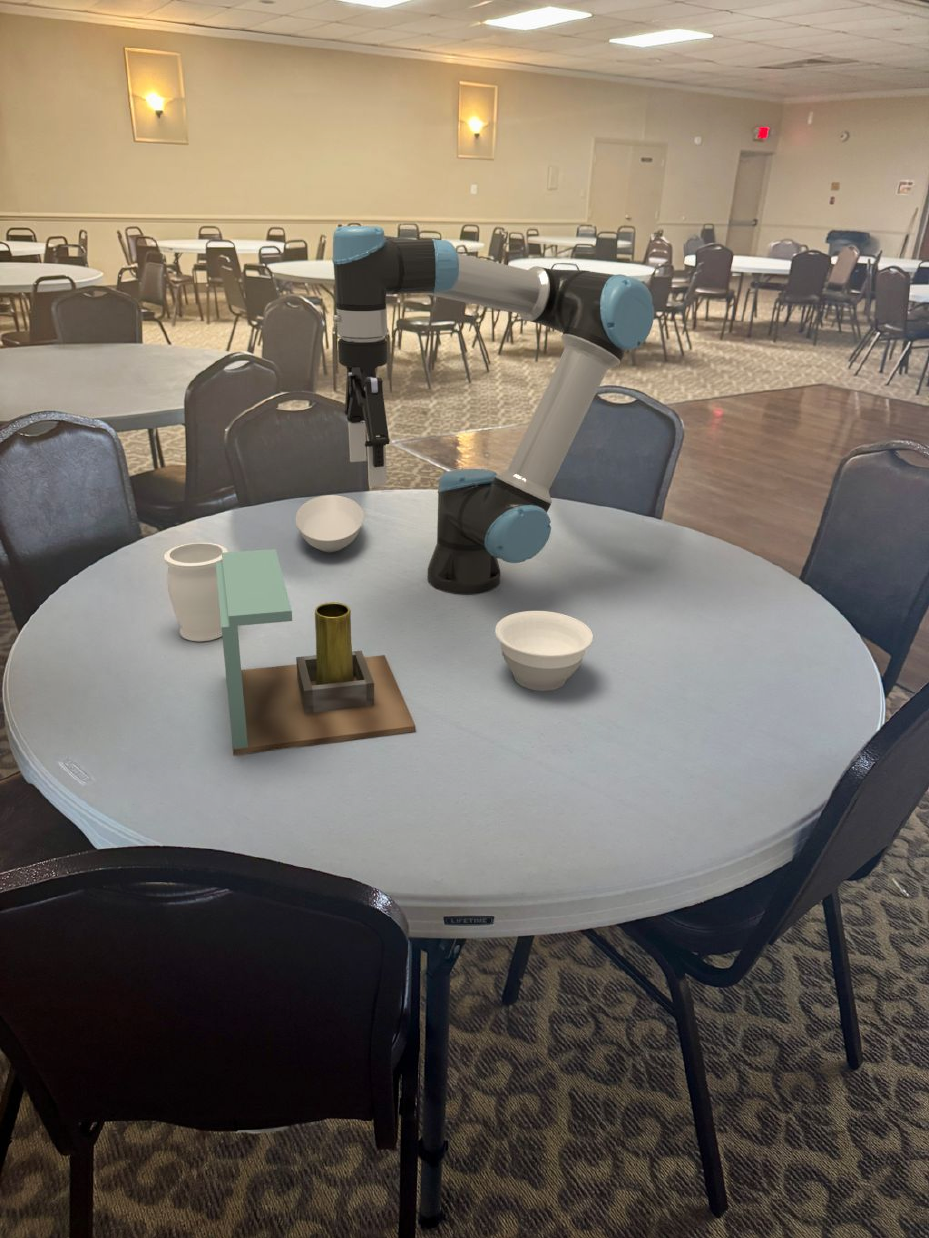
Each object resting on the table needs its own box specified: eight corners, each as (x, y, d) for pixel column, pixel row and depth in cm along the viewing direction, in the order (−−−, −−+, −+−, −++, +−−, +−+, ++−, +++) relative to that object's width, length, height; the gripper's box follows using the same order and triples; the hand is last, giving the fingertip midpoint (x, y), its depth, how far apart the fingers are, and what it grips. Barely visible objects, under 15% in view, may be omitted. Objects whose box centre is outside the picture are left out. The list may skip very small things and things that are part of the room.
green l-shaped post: (282, 665, 138) (275, 549, 129) (298, 740, 119) (291, 610, 110) (225, 671, 135) (214, 553, 126) (233, 749, 117) (220, 616, 108)
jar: (218, 649, 144) (210, 568, 137) (162, 641, 146) (151, 560, 139) (244, 622, 153) (238, 545, 147) (192, 615, 155) (183, 538, 148)
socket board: (384, 660, 143) (384, 634, 141) (415, 731, 124) (415, 702, 122) (226, 676, 136) (223, 649, 134) (233, 755, 117) (230, 725, 115)
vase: (338, 706, 128) (335, 622, 121) (306, 693, 130) (303, 611, 124) (362, 689, 132) (361, 607, 126) (331, 677, 135) (329, 597, 129)
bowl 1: (364, 567, 179) (364, 540, 176) (292, 567, 177) (291, 540, 174) (363, 519, 205) (363, 495, 203) (301, 519, 203) (300, 494, 201)
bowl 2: (523, 711, 131) (527, 663, 127) (475, 664, 143) (477, 619, 139) (607, 690, 137) (613, 644, 134) (553, 647, 150) (558, 604, 146)
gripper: (322, 326, 137) (330, 453, 147) (356, 353, 117) (362, 499, 126) (367, 324, 140) (372, 450, 149) (408, 350, 119) (410, 494, 129)
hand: (367, 472), depth 138 cm, fingers open, 13 cm apart
